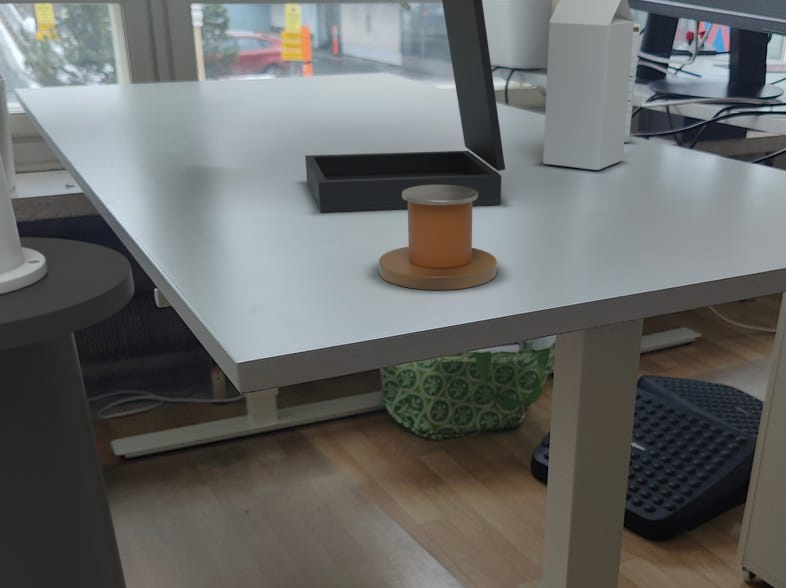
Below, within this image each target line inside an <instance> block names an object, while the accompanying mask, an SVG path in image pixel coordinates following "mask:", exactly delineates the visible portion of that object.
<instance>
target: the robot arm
mask: <svg viewBox="0 0 786 588" xmlns="http://www.w3.org/2000/svg"><path fill="white" fill-rule="evenodd" d="M4 168H5V167H4V163H3V159H2V155H1V153H0V295H2V294H6V293H9V292H13V291H17V290H19V289H22V288H25V287H28V286H30V285H32V284H34V283H36V282H38V281H39V280H40V279H42V278H43V277H44V276H45V275H46V273H47V272H48V270H47V264H46V259H45V257H44V255H42V254H41V253H39V252H38V251H35V250H32V249H29V248H24V247H21V243H20V238H19V237H20V235H19V229H18V226H17V220H16V215H15V211H14V208H13V203H12V198H11V193H10V190H9V186H8V180H7V177H6V172H5V169H4Z"/></svg>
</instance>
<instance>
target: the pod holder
mask: <svg viewBox="0 0 786 588" xmlns="http://www.w3.org/2000/svg"><path fill="white" fill-rule="evenodd" d="M304 158H305V160H304V161H305V172H306V173H305V174H306V184H307V185H308V188H309V190H310V192H311V194H312V196H313V199H314V201H315V203H316V206H317V207H318V211H319V212H320V213H341V212H342V213H343V212H344V213H345V212H365V211H366V212H367V211H388V210H408V201H407V200H405V199H403V197H402V192H403V191H404V190H405V189H408V188H411V187H415V186H422V185H456V186H463V187H468V188H471V189H474V190H476V191H477V193H478V197H477V199H476V200H474V201H472V207H479V206H480V207H481V206H483V207H484V206H500V205H501V203H502V197H501V196H502V175H501V174H500V173H498V171H497V170H496V169H494V168H493V167H492V166H490V165H489V164H488V163H486V162H485V161H484V160H482V159H481V158H480V157H478V156H477V155H476V154H474V153H473V152H472V151H470V150H443V151H441V150H440V151H412V152H411V151H407V152H406V151H405V152H379V153H373V152H372V153H345V154H343V153H342V154H341V153H340V154H312V155H310V154H307V155H304Z"/></svg>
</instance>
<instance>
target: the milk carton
mask: <svg viewBox="0 0 786 588" xmlns="http://www.w3.org/2000/svg"><path fill="white" fill-rule="evenodd" d="M634 21H635V20H634V17H633V14H632V10H631V7H630V4H629V1H628V0H559V1H558V3H557V4H556V7H555V9H554V11H553V13H552V15H551V17H550V19H549V21H548V22H549V25H548V45H547V47H548V49H547V70H546V91H545V113H544V114H545V115H544V133H543V157H542V158H543V160H542V163H543V164H545V165H551V166H560V167H568V168H577V169H584V170H591V171H592V170H594V171H600V170H602V169H604V168H607V167H609V166H612V165H615V164H617V163H620V162H622V161H623V158H624V157H623V156H624V146H625V145H624V144H625V142H624V134H625V123H626V111H627V99H628V87H629V76H630V64H631V52H632V41H633V28H634Z"/></svg>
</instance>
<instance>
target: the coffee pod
mask: <svg viewBox="0 0 786 588" xmlns="http://www.w3.org/2000/svg"><path fill="white" fill-rule="evenodd" d="M402 197H403V199H405V200H407V201H408V209H407V227H408V228H407V231H408V232H407V233H408V234H407V235H408V237H407V239H408V247H409V260H410V262H411V263H413V264H415V265H418V266H422V267H428V268H454V267H459V266H463V265H466V264H468V263H470V262H471V260H472V248H473V206H472V201H474V200H476V199H477V197H478V193H477V191H476V190H474V189H471V188H468V187H463V186H456V185H422V186H415V187H411V188H408V189H405V190H404V191H403V192H402Z"/></svg>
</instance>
